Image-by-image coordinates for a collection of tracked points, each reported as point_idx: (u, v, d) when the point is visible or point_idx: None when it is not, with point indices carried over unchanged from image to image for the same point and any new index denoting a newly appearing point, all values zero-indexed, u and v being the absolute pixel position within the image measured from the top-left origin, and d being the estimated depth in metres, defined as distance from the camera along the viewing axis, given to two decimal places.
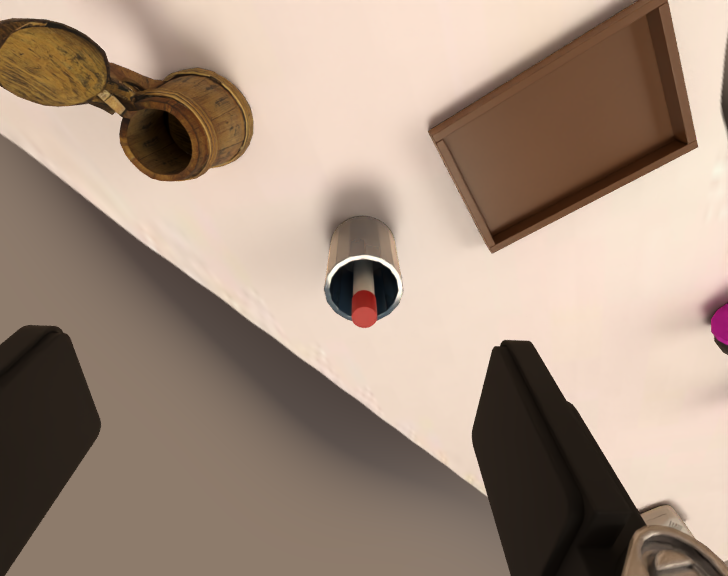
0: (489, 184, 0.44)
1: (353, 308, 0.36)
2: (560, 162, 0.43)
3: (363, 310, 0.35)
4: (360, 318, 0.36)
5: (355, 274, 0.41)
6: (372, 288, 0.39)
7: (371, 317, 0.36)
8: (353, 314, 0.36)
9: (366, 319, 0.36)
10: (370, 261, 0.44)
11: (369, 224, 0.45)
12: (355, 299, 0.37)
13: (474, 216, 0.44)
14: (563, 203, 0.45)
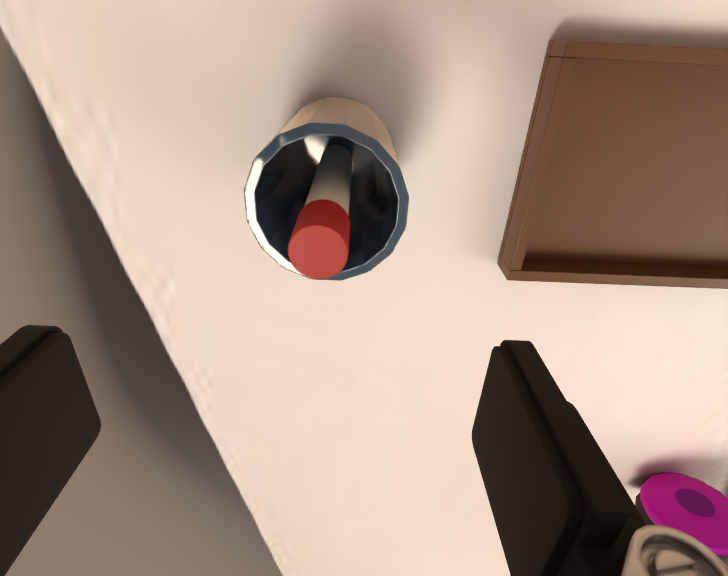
0: (564, 182, 0.28)
1: (305, 221, 0.15)
2: (659, 212, 0.29)
3: (325, 237, 0.15)
4: (308, 250, 0.15)
5: (322, 177, 0.20)
6: (348, 214, 0.19)
7: (332, 261, 0.15)
8: (300, 232, 0.15)
9: (318, 259, 0.15)
10: (350, 178, 0.23)
11: (379, 122, 0.24)
12: (314, 209, 0.16)
13: (526, 212, 0.27)
14: (625, 267, 0.30)
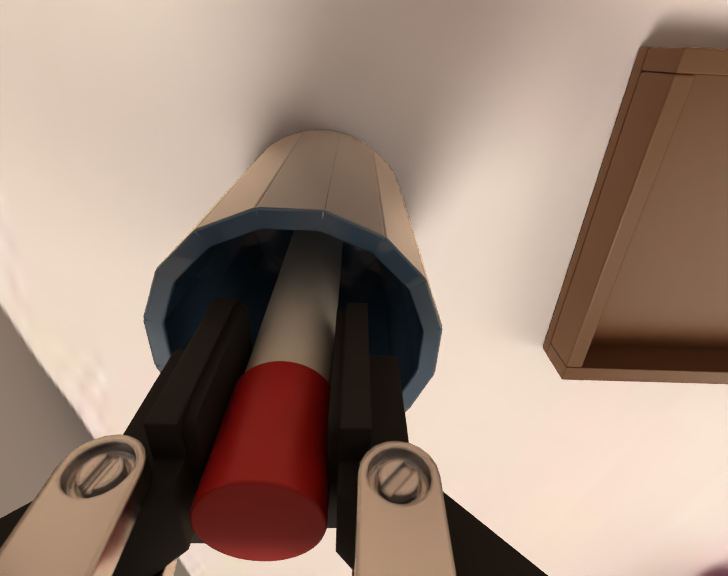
0: (646, 247, 0.20)
1: (229, 455, 0.07)
2: None
3: (273, 501, 0.06)
4: (236, 522, 0.07)
5: (290, 279, 0.12)
6: None
7: (291, 537, 0.07)
8: (212, 495, 0.06)
9: (261, 535, 0.07)
10: (340, 261, 0.15)
11: (385, 170, 0.16)
12: (258, 403, 0.08)
13: (596, 294, 0.19)
14: (721, 358, 0.22)
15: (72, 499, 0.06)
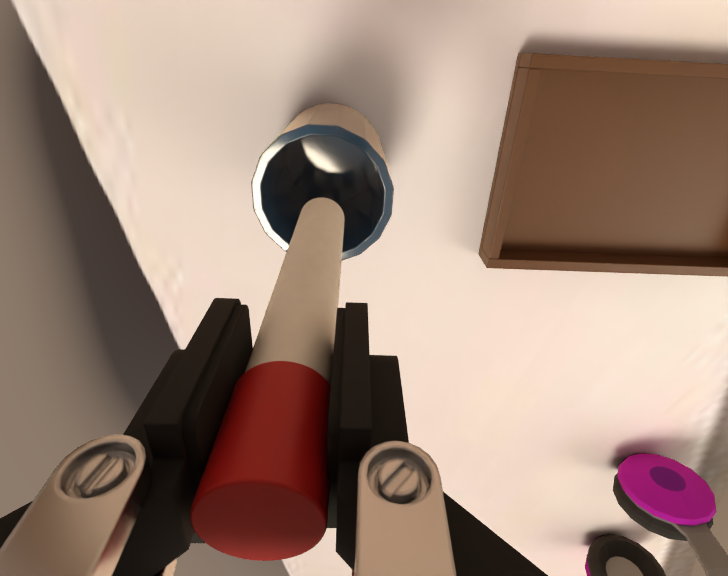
0: (536, 179, 0.31)
1: (229, 454, 0.07)
2: (622, 205, 0.32)
3: (273, 500, 0.06)
4: (236, 521, 0.07)
5: (289, 279, 0.12)
6: None
7: (291, 537, 0.07)
8: (213, 494, 0.06)
9: (261, 535, 0.07)
10: (340, 261, 0.15)
11: (369, 125, 0.28)
12: (258, 403, 0.08)
13: (502, 205, 0.30)
14: (593, 256, 0.34)
15: (72, 498, 0.06)
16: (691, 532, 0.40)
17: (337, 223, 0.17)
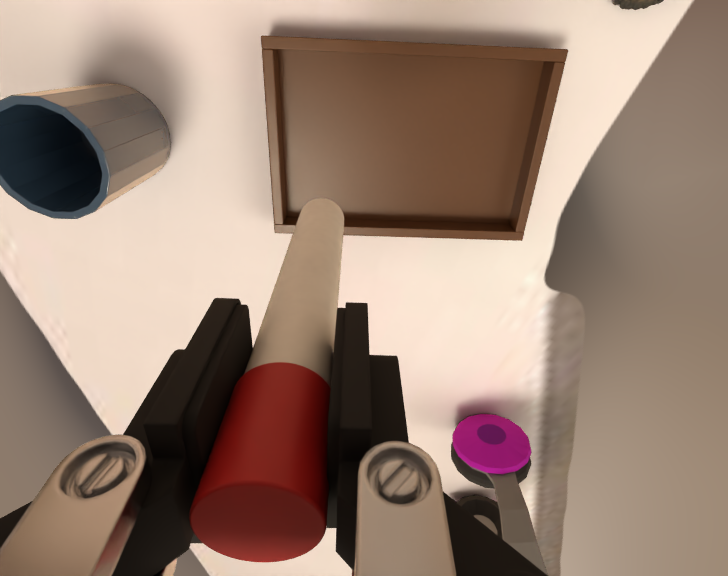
0: (310, 151, 0.35)
1: (229, 456, 0.07)
2: (395, 175, 0.36)
3: (273, 503, 0.06)
4: (236, 523, 0.07)
5: (289, 280, 0.12)
6: None
7: (290, 538, 0.07)
8: (212, 496, 0.06)
9: (260, 536, 0.07)
10: (340, 262, 0.15)
11: (135, 101, 0.31)
12: (257, 405, 0.08)
13: (272, 174, 0.34)
14: (376, 222, 0.37)
15: (72, 499, 0.06)
16: (499, 479, 0.43)
17: (337, 224, 0.17)
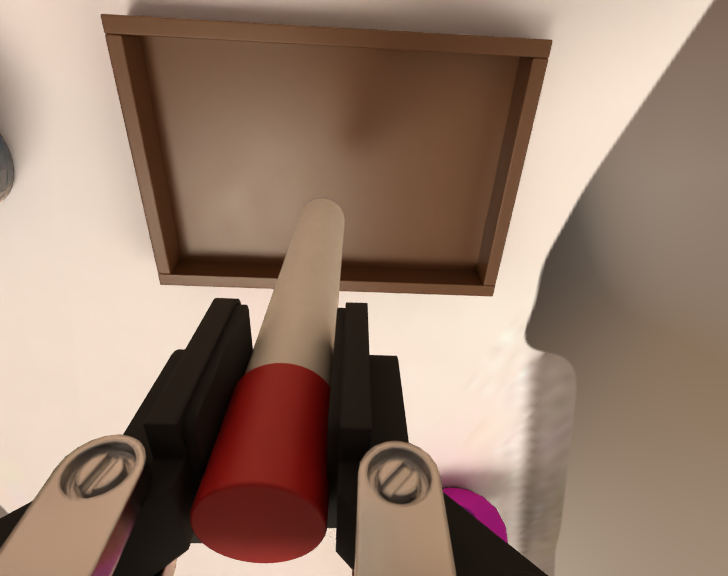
0: (204, 177, 0.26)
1: (229, 457, 0.07)
2: None
3: (274, 504, 0.06)
4: (236, 524, 0.07)
5: (290, 280, 0.12)
6: None
7: (291, 539, 0.07)
8: (213, 497, 0.06)
9: (260, 537, 0.07)
10: (340, 262, 0.15)
11: None
12: (258, 405, 0.08)
13: (146, 210, 0.24)
14: None
15: (72, 499, 0.06)
16: None
17: (337, 224, 0.17)
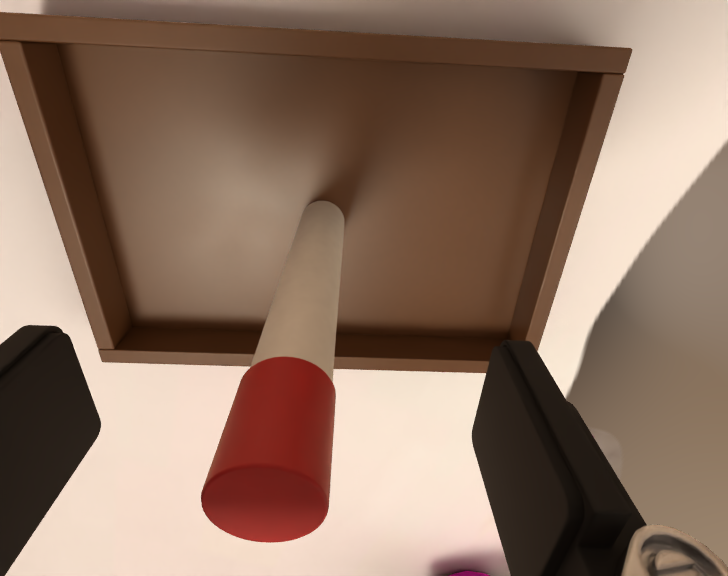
0: (155, 226, 0.19)
1: (238, 442, 0.07)
2: None
3: (279, 484, 0.07)
4: (244, 504, 0.07)
5: (292, 279, 0.12)
6: (333, 360, 0.11)
7: (295, 519, 0.07)
8: (223, 478, 0.07)
9: (267, 517, 0.07)
10: (340, 263, 0.15)
11: None
12: (264, 395, 0.08)
13: (75, 272, 0.18)
14: None
15: None
16: None
17: (337, 225, 0.17)
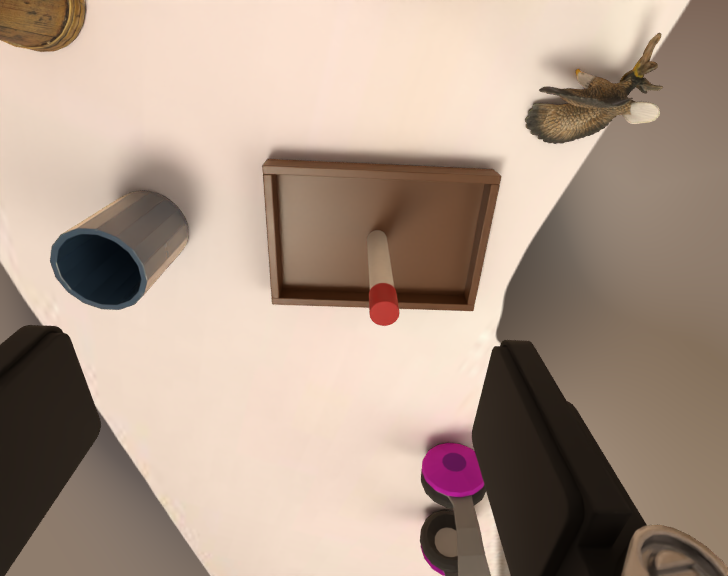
0: (301, 241, 0.43)
1: (378, 298, 0.31)
2: None
3: (389, 306, 0.31)
4: (380, 312, 0.31)
5: (376, 263, 0.36)
6: None
7: (391, 317, 0.31)
8: (376, 304, 0.31)
9: (384, 316, 0.31)
10: (389, 257, 0.39)
11: (162, 209, 0.39)
12: (381, 290, 0.32)
13: (270, 262, 0.42)
14: (355, 295, 0.45)
15: None
16: (458, 502, 0.52)
17: (386, 242, 0.41)
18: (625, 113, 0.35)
